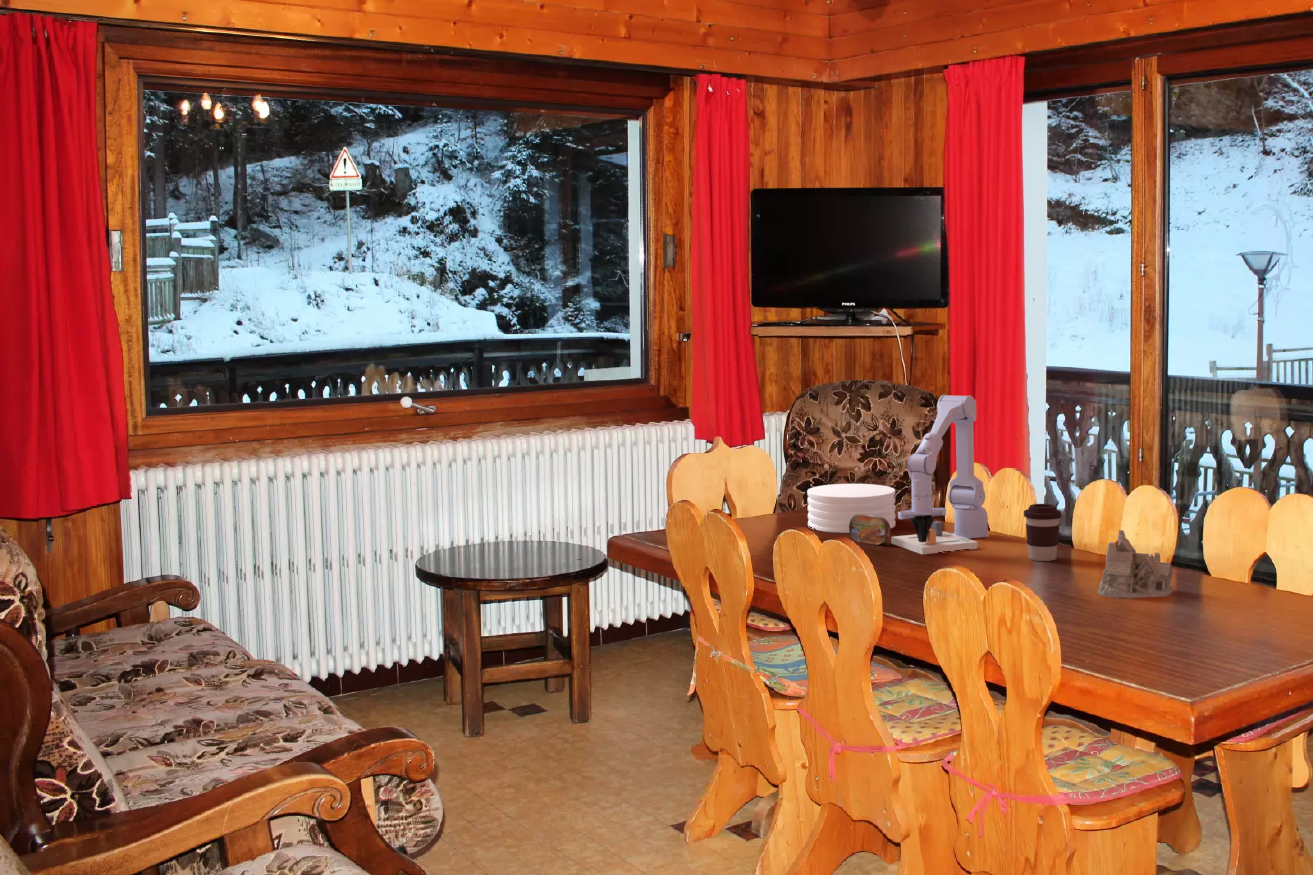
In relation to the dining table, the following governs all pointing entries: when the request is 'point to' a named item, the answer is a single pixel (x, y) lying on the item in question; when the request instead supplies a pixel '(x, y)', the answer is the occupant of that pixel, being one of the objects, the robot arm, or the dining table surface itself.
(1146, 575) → the ceramic cottage
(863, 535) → the tin
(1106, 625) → the dining table surface
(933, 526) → the gray rectangular block
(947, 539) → the board
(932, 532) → the switch
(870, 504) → the plate stack
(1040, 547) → the coffee cup
